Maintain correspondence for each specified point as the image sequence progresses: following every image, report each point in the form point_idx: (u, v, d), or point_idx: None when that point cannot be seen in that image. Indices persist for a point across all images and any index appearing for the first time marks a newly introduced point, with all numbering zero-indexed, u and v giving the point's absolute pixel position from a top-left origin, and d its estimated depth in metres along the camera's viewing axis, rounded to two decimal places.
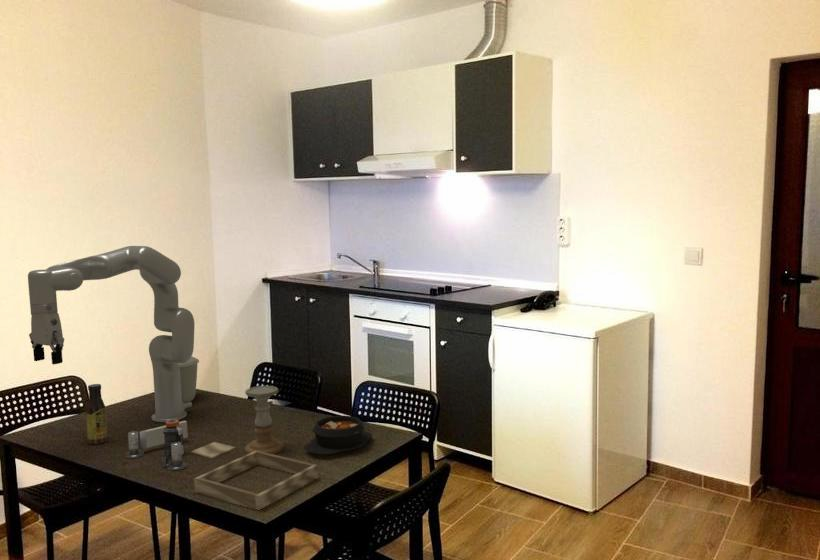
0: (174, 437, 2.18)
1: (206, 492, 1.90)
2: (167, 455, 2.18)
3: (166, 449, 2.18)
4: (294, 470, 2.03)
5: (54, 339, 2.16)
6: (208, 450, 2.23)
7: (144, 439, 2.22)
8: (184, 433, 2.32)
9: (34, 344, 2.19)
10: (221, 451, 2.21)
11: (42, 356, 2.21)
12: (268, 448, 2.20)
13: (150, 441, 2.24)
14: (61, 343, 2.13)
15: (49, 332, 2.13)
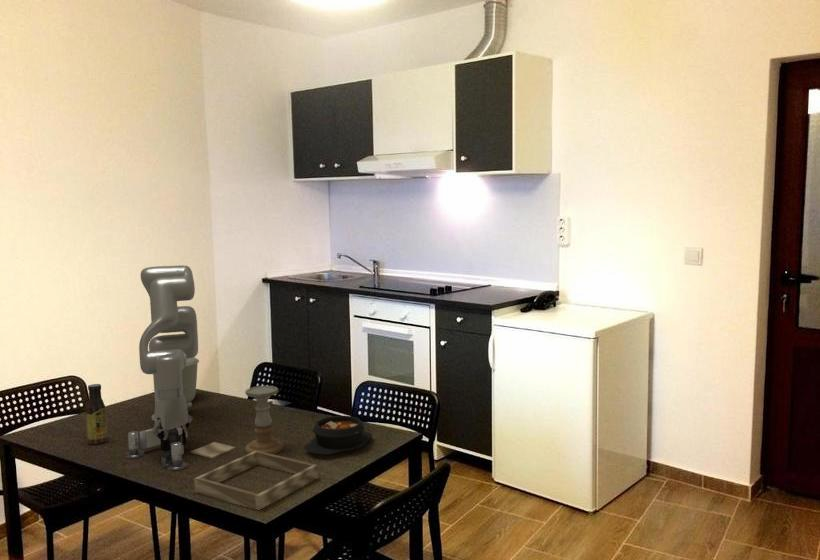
0: (174, 437, 2.18)
1: (206, 492, 1.90)
2: (167, 455, 2.18)
3: None
4: (294, 470, 2.03)
5: None
6: (208, 450, 2.23)
7: (144, 439, 2.22)
8: None
9: (167, 434, 2.17)
10: (221, 451, 2.21)
11: None
12: (268, 448, 2.20)
13: (150, 441, 2.24)
14: None
15: None
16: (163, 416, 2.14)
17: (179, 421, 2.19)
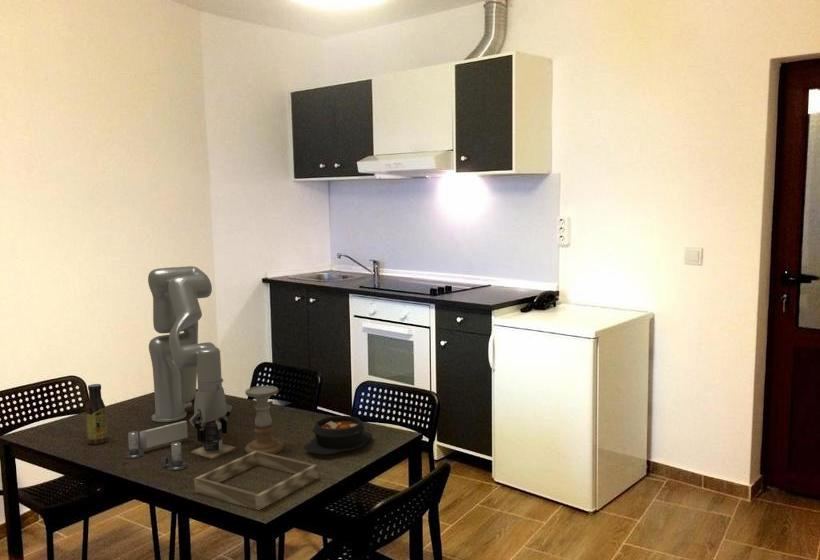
0: (214, 432, 2.20)
1: (206, 492, 1.90)
2: (206, 449, 2.21)
3: (206, 443, 2.21)
4: (294, 470, 2.03)
5: None
6: None
7: (144, 439, 2.22)
8: (184, 433, 2.32)
9: (204, 425, 2.18)
10: (221, 451, 2.21)
11: None
12: (268, 448, 2.20)
13: (150, 441, 2.24)
14: None
15: None
16: (203, 408, 2.17)
17: (218, 413, 2.22)
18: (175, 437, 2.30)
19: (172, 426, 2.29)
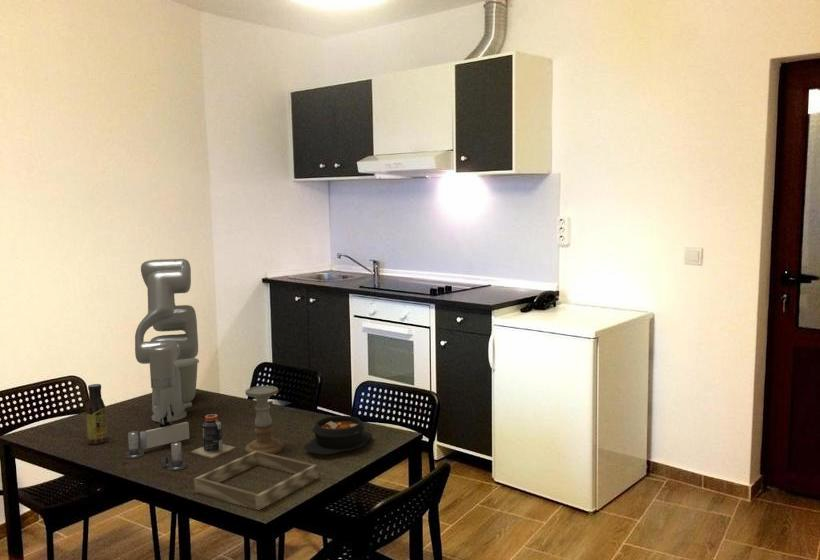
0: (214, 432, 2.20)
1: (206, 492, 1.90)
2: (206, 449, 2.21)
3: (205, 443, 2.21)
4: (294, 470, 2.03)
5: None
6: None
7: (144, 439, 2.22)
8: (186, 434, 2.31)
9: None
10: (221, 451, 2.21)
11: None
12: (268, 448, 2.20)
13: (150, 441, 2.23)
14: None
15: None
16: (174, 401, 2.27)
17: None
18: (176, 438, 2.29)
19: (173, 427, 2.28)
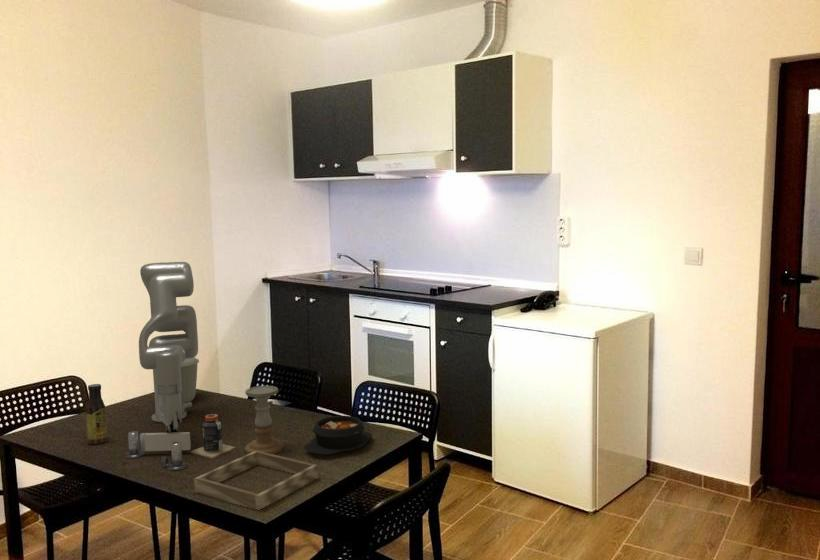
0: (214, 432, 2.20)
1: (206, 492, 1.90)
2: (206, 449, 2.21)
3: (205, 443, 2.21)
4: (294, 470, 2.03)
5: None
6: None
7: (141, 442, 2.20)
8: (185, 445, 2.21)
9: None
10: (221, 451, 2.21)
11: None
12: (268, 448, 2.20)
13: (149, 445, 2.20)
14: None
15: None
16: (180, 408, 2.20)
17: None
18: None
19: (172, 435, 2.20)
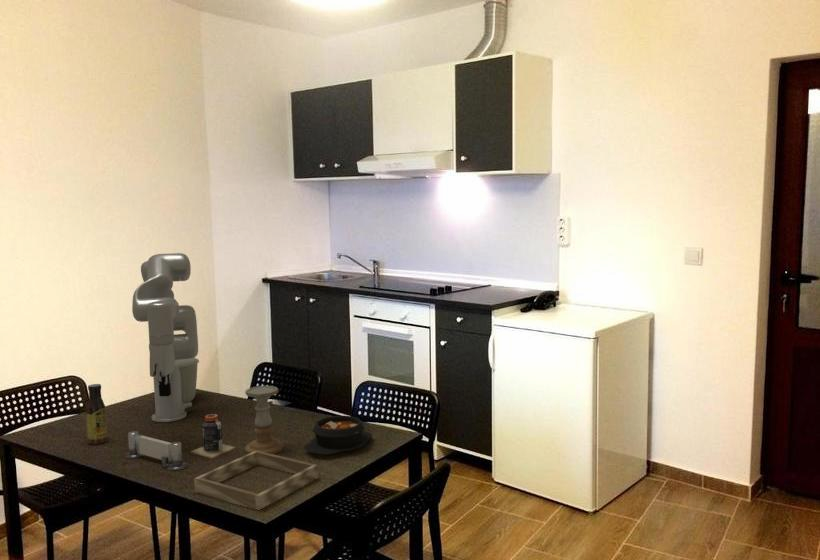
0: (213, 432, 2.20)
1: (206, 492, 1.90)
2: (206, 449, 2.21)
3: (205, 443, 2.21)
4: (294, 470, 2.03)
5: None
6: None
7: (136, 443, 2.18)
8: (166, 456, 2.11)
9: (168, 379, 2.20)
10: (221, 451, 2.21)
11: None
12: (268, 448, 2.20)
13: (142, 448, 2.17)
14: None
15: None
16: (163, 361, 2.15)
17: (171, 367, 2.21)
18: (159, 456, 2.13)
19: (157, 443, 2.13)
